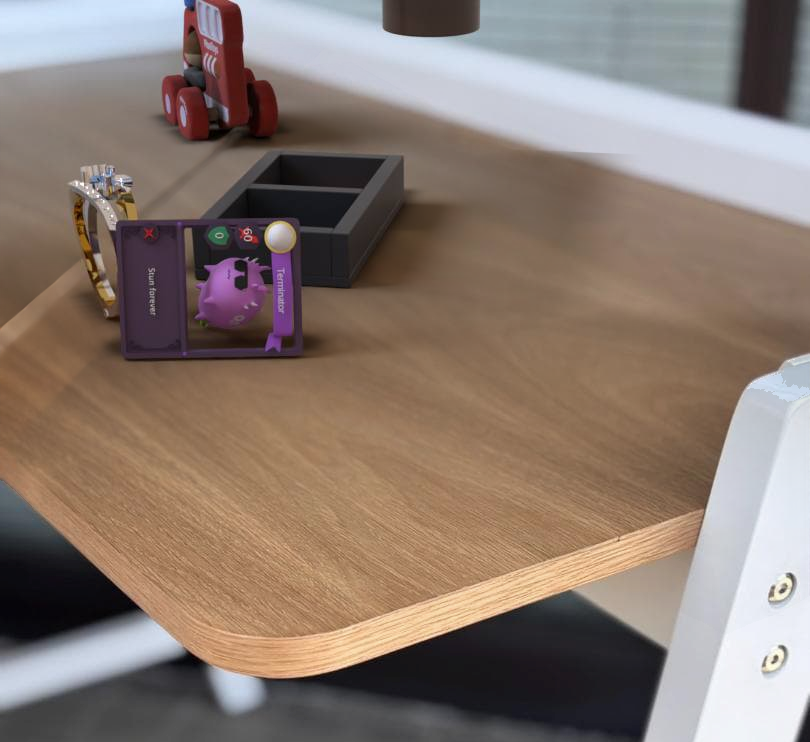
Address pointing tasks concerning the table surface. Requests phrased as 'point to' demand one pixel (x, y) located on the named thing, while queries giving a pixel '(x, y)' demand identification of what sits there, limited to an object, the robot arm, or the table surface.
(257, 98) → the toy fire truck
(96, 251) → the ring
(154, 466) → the table surface
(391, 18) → the brown wooden cylinder
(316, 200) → the grid
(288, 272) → the game card
